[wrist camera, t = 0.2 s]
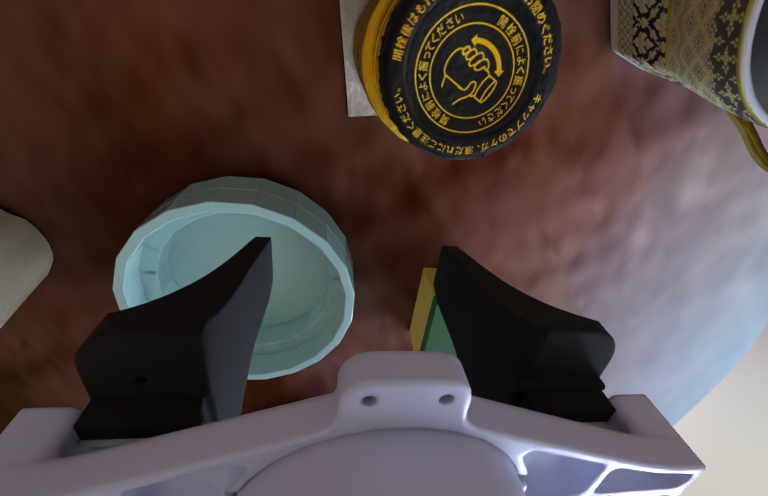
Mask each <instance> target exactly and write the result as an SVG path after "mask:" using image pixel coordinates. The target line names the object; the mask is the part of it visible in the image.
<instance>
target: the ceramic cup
mask: <svg viewBox="0 0 768 496" xmlns="http://www.w3.org/2000/svg"><path fill="white" fill-rule="evenodd" d="M610 26H611V48H612V51H613V52H615V53H616V54H618V55H620V56H621V57H623V58H624V59H626V60H627V61H629V62H630V63H632V64H634V65H635V66H637V67H638V68H640V69H642V70H644V71H647V72H649V73H652V74H654V75H657V76H660V77H662V78H665V79H667V80H670V81H672V82H674V83H676V84H679V85H681V86H683V87H685V88H688V89H690V90H692V91H694V92H695V93H696V94H698V95H700V96H701V97H703V98H704V99H706V100H707V101H709V102H710V103H712V104H714V105H716V106H718V107H720V108H722V109H724V110H725V112H726V113H727V115H728V116H729V117H730V118H731V120H732V121H733V122H734V124H735V125H736V127H737V129H738V130H739V132H740V134H741V137H742V139H743V141H744V143H745V145H746V148H747V150H748V151H749V153H750V155H751V157H752V158H753V160H754V161H755V162H756V163H757V164H758V165H759V166H760V167H761V168H762V169H763V170H765V171H766V172H768V153H767V151H766V149H765V148H764V146H763V144H762V142H761V139H760V137H759V135H758V133H757V131H756V129H755V127H754V125H753V123H755V124H757V125H760V126H763V127H765V128H768V0H610Z"/></svg>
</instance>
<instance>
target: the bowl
mask: <svg viewBox="0 0 768 496" xmlns="http://www.w3.org/2000/svg"><path fill="white" fill-rule="evenodd" d="M255 237H271V241H272V263H273V283H272V288H271V294H270V299H269V302H268V305H267V308H266V312H265V315H264V318H263V321H262V324H261V327H260V330H259V333H258V336H257V339H256V342H255V345H254V349H253V353H252V358H251V363H250V368H249V372H248V378H247V380H260V379H269V378H274V377H278V376H283V375H287V374H292V373H295V372H297V371H299V370H302V369H304V368H306V367H308V366H310V365H312V364H314V363H316V362H318V361H320V360H321V359H322V358H323V357H324V356H326V355H327V354H328V353H329V352H330V351H331V350H332V349H333V348H335V347H336V346H337V345H338V344H339V343H340V341H341V340H342V338H343V336H344V334H345V332H346V330H347V329H348V327H349V325H350V323H351V321H352V316H353V306H354V297H355V292H354V277H353V261H352V258H351V255H350V251H349V248H348V244H347V241H346V237H345V236H344V234H343V233H342V232H341V230H340V229H339V227H338V226H337V225H336V223H335V222H334V221H333V219H332V218H331V216H330V215H329V214H328V213H327V211H325V210H324V209H323V208H321V207H320V206H319V205H317V204H316V203H315V202H313V201H312V200H311V199H309V198H308V197H306V196H305V195H304V194H302V193H301V192H299V191H297V190H294V189H291V188H289V187H286V186H283V185H281V184H278V183H275V182H273V181H270V180H267V179H261V178H248V177H235V176H225V177H220V178H216V179H211V180H207V181H202V182H198V183H193V184H190V185H189V186H187V187H186V188H184V189H183V190H181V191H179V192H178V193H176V194H175V195H173V196H171V197H170V198H168V199H167V200H165V201H164V202H163V203H162V204H161V205H160V206H159V207H158V208H157V209H156V210H155V211H154V212H153V213H152V214H151V215H150V216H149V217H148V218H147V219H146V220H144V221H143V222H142V223H141V224H140V225H139V226H138V227H137V228H136V229H135V230H134V231H133V233H132V234H131V236H130V237H129V239H128V240H127V242H126V243H125V245H124V246H123V248H122V249H121V251H120V252H119V254H118V255H117V257H116V262H115V270H114V279H113V288H112V289H113V292H114V295H115V298H116V301H117V304H118V307H119V310H124V309H127V308H131V307H134V306H138V305H141V304H144V303H147V302H150V301H152V300H155V299H158V298H160V297H163V296H165V295H168V294H170V293H172V292H175V291H177V290H179V289H181V288H183V287H185V286H187V285H189V284H191V283H193V282H195V281H197V280H199V279H200V278H202V277H204V276H205V275H207V274H209V273H210V272H212V271H213V270H215V269H216V268H217V267H219V266H220V265H222V264H223V263H224V262H226V261H227V260H228V259H230V258H231V257H232V256H233V255H235V254H236V253H237V252H238V251H239V250H240V249H242V248H243V247H244V246H245V245H246V244H247V243H249V242H250V241H251V240H252V239H253V238H255Z"/></svg>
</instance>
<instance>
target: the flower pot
mask: <svg viewBox="0 0 768 496" xmlns="http://www.w3.org/2000/svg"><path fill="white" fill-rule="evenodd" d="M52 263H53V253H52V250H51V247H50V245H49V243H48V241H47V240H46V239H45V237H44V236H43V235H42V234H41V232H40V231H39V230H38V229H37V228H36V227H35V226H33V225H32V224H31V223H30V222H28V221H27V220H25V219H24V218H21V217H18V216H14V215H12V214H9V213H7V212H5V211H3V210H2V209H0V328H1V327H2V326H3V325H4V324H5V323H6V321H7V320H8V319H9V318H10V317H11V316H12V314H13V313H14V312H15V311H16V310H17V309H18V307H19V306H20V305H21V304H22V303H23V302H24V301H25V299H26V298H27V297H28V296H29V295H30V294H31V293H32V291H33V290H34V289H35V288H36V287H37V286H38V285H39V283H40V282H41V281H42V280H43V279H44V278H45V277H46V276H47V275H48V273H49V271H50V269H51V266H52Z"/></svg>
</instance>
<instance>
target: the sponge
mask: <svg viewBox="0 0 768 496" xmlns="http://www.w3.org/2000/svg"><path fill="white" fill-rule="evenodd" d="M436 270H437V268H423V272H422V276H421V281H420V285H419V290H418V294H417V299H416V303H415V308H414V312H413V317H412V321H411V326H410V330H409V333H410V337H411V341H412V346H413V350H414V351H440V352H445V353H450V354H453V355H454V356H455V357H456V358H457V355H456V352H455V349H454V346H453V343H452V340H451V337H450V335H449V332H448V330H447V327H446V325H445V322H444V319H443V317H442V314H441V312H440V309H439V306H438V303H437V300H436V295H435V290H434V285H433V282H434V278H435V274H436Z"/></svg>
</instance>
